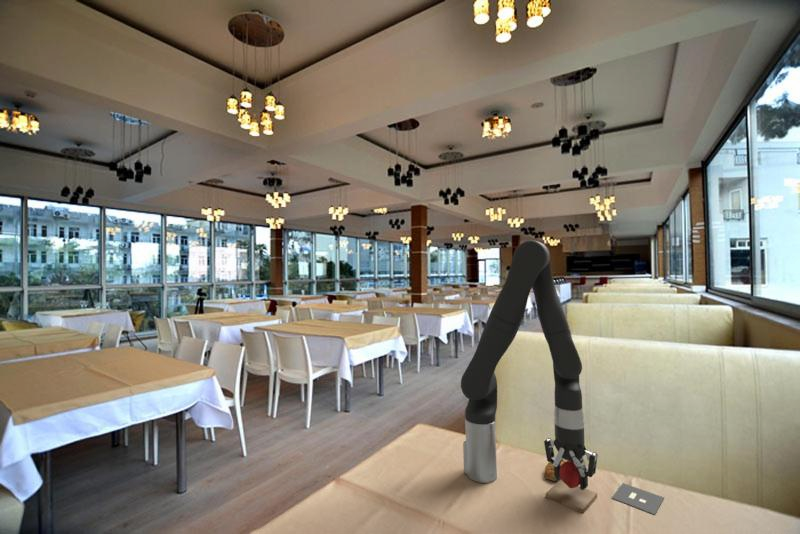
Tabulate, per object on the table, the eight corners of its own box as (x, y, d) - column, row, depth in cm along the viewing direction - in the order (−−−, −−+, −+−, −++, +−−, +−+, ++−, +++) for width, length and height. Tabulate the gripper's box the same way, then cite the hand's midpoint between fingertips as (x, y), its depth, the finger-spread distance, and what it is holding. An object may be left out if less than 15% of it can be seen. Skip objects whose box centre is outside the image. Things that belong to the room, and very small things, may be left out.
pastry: (561, 486, 107) (561, 473, 107) (539, 478, 111) (538, 465, 112) (573, 473, 113) (572, 461, 114) (551, 466, 118) (550, 454, 118)
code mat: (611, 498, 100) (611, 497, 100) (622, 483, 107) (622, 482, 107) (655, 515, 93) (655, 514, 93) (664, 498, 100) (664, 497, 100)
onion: (581, 484, 103) (580, 455, 103) (584, 495, 98) (583, 465, 98) (558, 480, 105) (557, 452, 105) (560, 491, 100) (559, 462, 100)
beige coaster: (545, 496, 101) (545, 493, 102) (560, 482, 108) (560, 479, 108) (583, 513, 94) (583, 509, 94) (597, 496, 101) (597, 493, 101)
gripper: (537, 419, 105) (539, 479, 104) (591, 434, 94) (593, 501, 94) (549, 412, 110) (551, 469, 109) (601, 426, 99) (603, 489, 99)
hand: (570, 483), depth 101 cm, fingers closed on onion, 6 cm apart
